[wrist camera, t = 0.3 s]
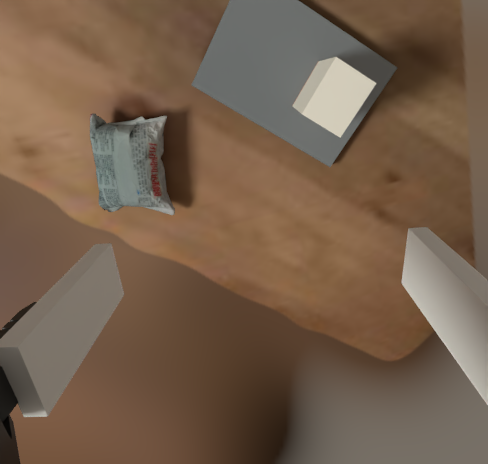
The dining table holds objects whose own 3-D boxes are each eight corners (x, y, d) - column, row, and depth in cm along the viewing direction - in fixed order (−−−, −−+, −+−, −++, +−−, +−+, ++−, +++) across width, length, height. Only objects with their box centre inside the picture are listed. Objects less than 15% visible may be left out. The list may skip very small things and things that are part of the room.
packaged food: (171, 113, 40) (160, 118, 35) (178, 210, 45) (168, 225, 40) (97, 111, 40) (76, 116, 35) (111, 207, 45) (94, 222, 40)
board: (193, 84, 38) (191, 85, 37) (246, -32, 34) (246, -36, 33) (328, 164, 41) (330, 167, 40) (393, 67, 37) (397, 67, 36)
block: (292, 105, 38) (301, 114, 29) (318, 61, 36) (336, 56, 27) (322, 124, 38) (340, 137, 30) (349, 81, 36) (376, 83, 28)
